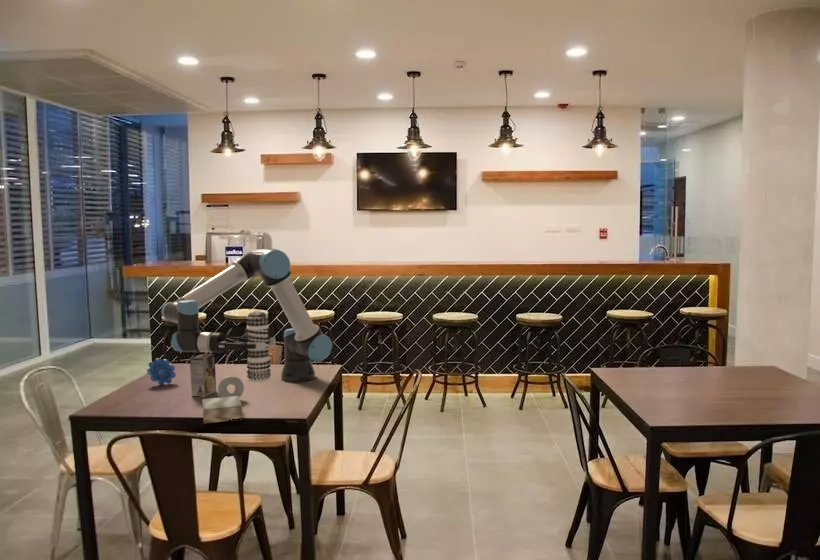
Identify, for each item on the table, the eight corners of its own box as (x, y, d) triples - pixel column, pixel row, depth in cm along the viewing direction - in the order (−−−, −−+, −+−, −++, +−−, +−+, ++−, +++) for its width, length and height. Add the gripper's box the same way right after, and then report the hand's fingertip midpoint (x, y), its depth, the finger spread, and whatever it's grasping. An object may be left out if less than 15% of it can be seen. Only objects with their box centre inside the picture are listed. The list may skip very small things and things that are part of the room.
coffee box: (202, 391, 263) (201, 353, 262) (216, 391, 262) (215, 354, 260) (191, 397, 254) (189, 358, 253) (205, 397, 253) (203, 358, 252)
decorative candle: (269, 382, 227) (267, 314, 225) (243, 382, 226) (241, 314, 224) (273, 376, 236) (272, 310, 234) (249, 376, 235) (247, 311, 233)
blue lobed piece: (148, 388, 269) (146, 361, 267) (147, 385, 275) (146, 358, 274) (176, 385, 273) (175, 358, 272) (175, 382, 279) (174, 355, 278)
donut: (217, 402, 246) (216, 377, 245) (218, 400, 249) (217, 375, 248) (244, 400, 247) (243, 376, 247) (244, 398, 251) (243, 374, 250)
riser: (239, 408, 237) (238, 395, 236) (242, 419, 223) (241, 405, 223) (203, 412, 232) (202, 399, 232) (203, 423, 219) (203, 409, 219)
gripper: (226, 347, 244) (281, 348, 240) (198, 358, 223) (258, 360, 219) (225, 328, 244) (280, 329, 239) (197, 337, 223) (257, 338, 219)
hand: (270, 343), depth 229 cm, fingers closed on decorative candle, 8 cm apart
